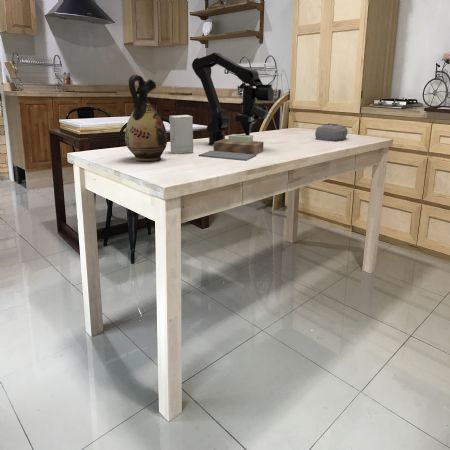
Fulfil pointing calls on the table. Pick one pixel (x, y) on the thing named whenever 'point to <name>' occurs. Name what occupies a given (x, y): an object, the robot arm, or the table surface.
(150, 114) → the ceramic jug
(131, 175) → the table surface
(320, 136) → the soft grey pack
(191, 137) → the skincare box
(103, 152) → the table surface
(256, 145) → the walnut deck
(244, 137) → the sage tile
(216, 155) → the charcoal mat
